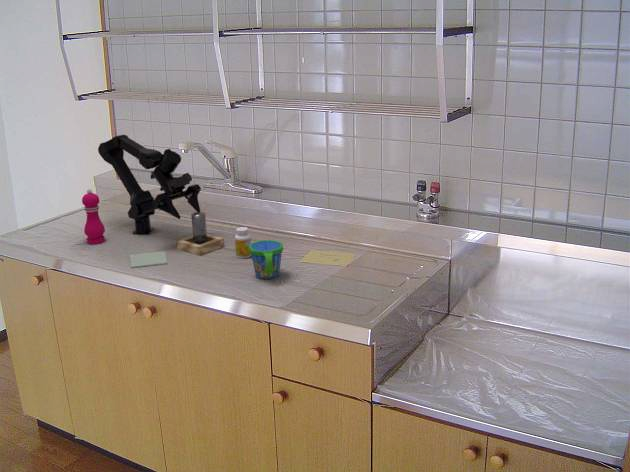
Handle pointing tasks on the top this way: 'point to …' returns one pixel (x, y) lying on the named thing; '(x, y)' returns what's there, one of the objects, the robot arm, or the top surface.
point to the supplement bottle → (242, 243)
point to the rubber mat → (148, 259)
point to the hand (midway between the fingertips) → (189, 215)
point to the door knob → (199, 228)
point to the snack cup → (266, 258)
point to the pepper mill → (93, 219)
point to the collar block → (193, 248)
